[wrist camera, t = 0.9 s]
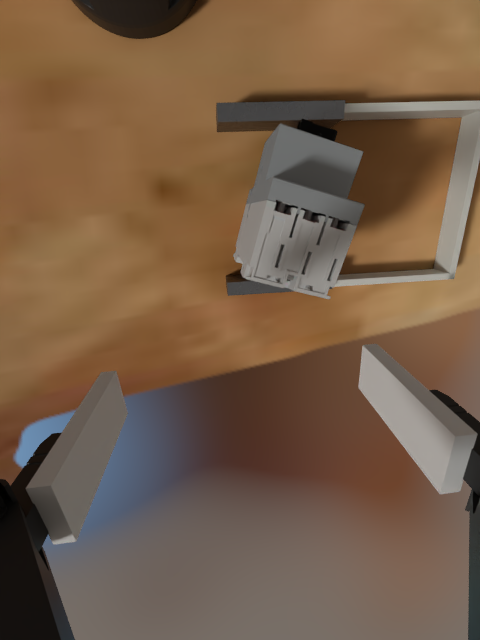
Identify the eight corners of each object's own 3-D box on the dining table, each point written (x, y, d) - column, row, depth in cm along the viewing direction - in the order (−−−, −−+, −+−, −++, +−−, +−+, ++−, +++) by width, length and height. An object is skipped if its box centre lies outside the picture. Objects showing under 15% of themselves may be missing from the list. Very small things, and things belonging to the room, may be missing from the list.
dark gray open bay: (216, 115, 33) (216, 103, 29) (330, 112, 34) (345, 100, 30) (226, 287, 40) (227, 295, 36) (321, 281, 40) (332, 288, 37)
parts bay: (330, 112, 34) (341, 103, 31) (469, 109, 35) (492, 100, 32) (321, 281, 40) (329, 286, 38) (437, 274, 42) (454, 278, 39)
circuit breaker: (323, 153, 35) (398, 115, 21) (287, 270, 39) (328, 302, 25) (263, 133, 34) (300, 78, 20) (233, 256, 38) (244, 282, 24)
